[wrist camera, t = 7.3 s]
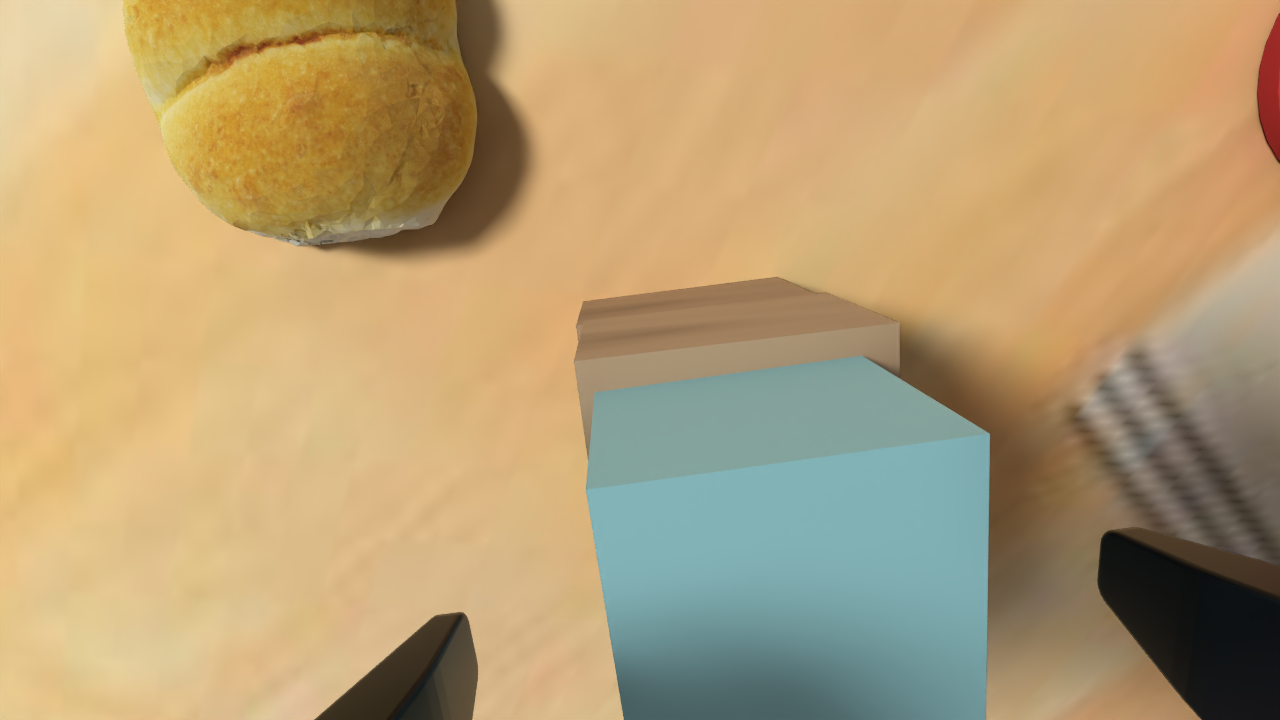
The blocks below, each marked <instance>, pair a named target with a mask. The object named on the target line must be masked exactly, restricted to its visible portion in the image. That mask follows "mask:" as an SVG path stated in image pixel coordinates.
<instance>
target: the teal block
mask: <svg viewBox="0 0 1280 720" xmlns="http://www.w3.org/2000/svg"><path fill="white" fill-rule="evenodd" d="M989 465H990V433H988V432H986V431H985V430H983V429H981V428H980V427H978V426H977V425H975V424H973V423H972V422H970V421H968V420H967V419H965V418H963V417H962V416H960V415H959V414H957V413H955V412H954V411H952V410H950V409H949V408H947V407H945V406H944V405H942V404H940V403H939V402H937V401H936V400H934V399H932V398H931V397H929V396H927V395H926V394H924V393H922V392H921V391H919V390H918V389H916V388H914V387H913V386H911V385H909V384H908V383H906V382H904V381H903V380H901V379H900V378H898V377H896V376H895V375H893V374H891V373H890V372H888V371H886V370H885V369H883V368H881V367H880V366H878V365H877V364H875V363H873V362H872V361H870V360H868V359H867V358H865V357H863V356H856V357H848V358H841V359H834V360H826V361H819V362H812V363H805V364H797V365H790V366H783V367H775V368H768V369H761V370H754V371H746V372H739V373H732V374H725V375H717V376H710V377H703V378H695V379H688V380H681V381H674V382H666V383H659V384H652V385H644V386H637V387H630V388H623V389H615V390H608V391H601V392H595V394H594V405H593V416H592V427H591V439H590V450H589V461H588V472H587V484H586V493H587V499H588V505H589V511H590V517H591V523H592V529H593V535H594V542H595V548H596V554H597V560H598V566H599V572H600V578H601V584H602V590H603V596H604V602H605V608H606V614H607V620H608V626H609V632H610V638H611V644H612V650H613V656H614V662H615V668H616V674H617V680H618V686H619V692H620V698H621V704H622V710H623V716H624V720H986V675H987V605H988V535H989Z"/></svg>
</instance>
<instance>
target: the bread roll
mask: <svg viewBox="0 0 1280 720" xmlns="http://www.w3.org/2000/svg"><path fill="white" fill-rule="evenodd" d="M123 13H124V24H125V33H126V38H127V44H128V46H129V49H130V52H131V54H132V58H133V64H134V67H135V69H136V71H137V73H138V76H139V78H140V80H141V83H142V85H143V88H144V90H145V92H146V95H147V97H148V99H149V101H150V104H151V106H152V108H153V110H154V113H155V115H156V118H157V120H158V123H159V126H160V129H161V132H162V135H163V141H164V144H165V147H166V150H167V153H168V155H169V158H170V161H171V163H172V165H173V167H174V169H175V171H176V172H177V173H178V174H179V176H180V177H181V178H182V179H183V181H184V182H185V183H186V184H187V186H188V187H189V188H190V189H191V191H192V192H193V193H194V194H195V196H196V197H197V198H198V199H199V201H200V202H201V203H202V204H204V205H205V206H206V207H207V208H208V209H209V210H210V211H211V212H212V213H213V214H214V215H216V216H218V217H219V218H221V219H222V220H224V221H225V222H227V223H228V224H230V225H233V226H235V227H238V228H240V229H243V230H245V231H249V232H252V233H255V234H258V235H260V236H264V237H270V238H275V239H277V240H280V241H283V242H288V243H292V244H294V245H296V246H307V245H318V244H319V245H320V244H329V243H340V242H349V241H353V242H354V241H358V240H363V239H369V238H372V237H373V238H383V237H384V236H390V235H393V234H397V233H398V232H400V231H401V230H407V229H421V228H423V227H426V226H428V225H433V224H434V223H435V222H436V220H437V219H438V217H439V215H440V213H441V211H442V209H443V208H444V206H445V204H446V203H447V201H448V200H449V198H450V197H451V196H452V195H453V193H454V192H455V191H456V190H457V188H458V187H459V186H460V184H461V183H462V181H463V180H464V178H465V176H466V174H467V172H468V169H469V167H470V165H471V161H472V158H473V152H474V144H475V136H476V127H477V108H476V99H475V95H474V92H473V88H472V85H471V82H470V79H469V76H468V73H467V71H466V69H465V67H464V64H463V62H462V58H461V53H460V48H459V43H458V39H457V10H456V1H455V0H124V5H123ZM398 234H399V233H398ZM288 240H289V241H288Z"/></svg>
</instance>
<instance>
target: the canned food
mask: <svg viewBox="0 0 1280 720" xmlns="http://www.w3.org/2000/svg"><path fill="white" fill-rule="evenodd" d="M1258 102H1259V112H1260V120H1261V123H1262V126H1263V129H1264V132H1265V135H1266V138H1267V141H1268V143H1269V145H1270V146H1271V148H1272V150H1273V151H1274V153H1275V155H1276V156H1277V158H1278V160H1279V161H1280V14H1279V15H1278V17H1277V19H1276V22H1275V24H1274V26H1273V29H1272V31H1271V33H1270V35H1269V38H1268V40H1267V42H1266V46H1265V50H1264V54H1263V58H1262V62H1261V66H1260V72H1259V84H1258Z"/></svg>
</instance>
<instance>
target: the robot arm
mask: <svg viewBox="0 0 1280 720" xmlns="http://www.w3.org/2000/svg"><path fill="white" fill-rule="evenodd" d="M1098 588H1099V591H1100V594H1101V596H1102V598H1103V599H1104V601H1105V602H1106V604H1107V605H1108V606H1109V607H1110V609H1111V610H1112V611H1113V612H1114V614H1115V615H1116V616H1117V617H1118V619H1119V620H1120V621H1121V622H1122V624H1123V625H1124V626H1125V628H1126V629H1127V630H1128V631H1129V633H1130V634H1131V635H1132V636H1133V638H1134V639H1135V640H1136V641H1137V643H1138V644H1139V645H1140V646H1141V648H1142V649H1143V650H1144V651H1145V653H1146V654H1147V655H1148V656H1149V658H1150V659H1151V660H1152V661H1153V663H1154V664H1155V665H1156V667H1157V668H1158V669H1159V670H1160V672H1161V673H1162V674H1163V675H1164V677H1165V678H1166V679H1167V680H1168V682H1169V683H1170V684H1171V685H1172V687H1173V688H1174V689H1175V690H1176V691H1177V693H1178V694H1179V695H1180V696H1181V697H1182V699H1183V700H1184V701H1185V702H1186V703H1187V704H1188V705H1189V707H1190V708H1191V709H1192V710H1193V711H1194V712H1195V713H1196V714H1197V715H1198V717H1199V718H1200V719H1201V720H1280V566H1279V565H1276V564H1272V563H1268V562H1264V561H1261V560H1257V559H1253V558H1250V557H1246V556H1242V555H1239V554H1235V553H1231V552H1228V551H1224V550H1220V549H1216V548H1213V547H1209V546H1205V545H1202V544H1198V543H1194V542H1191V541H1187V540H1183V539H1180V538H1176V537H1172V536H1168V535H1165V534H1161V533H1157V532H1154V531H1150V530H1146V529H1143V528H1136V527H1131V528H1124V529H1116V530H1110V531H1107V532H1106V533H1105V534H1104V535H1103V537H1102V538H1101V545H1100V556H1099V568H1098ZM477 681H478V664H477V658H476V653H475V648H474V644H473V639H472V634H471V629H470V625H469V621H468V618H467V616H466V615H465V614H464V613H462V612H457V613H449V614H441V615H436V616H434V617H433V618H431V619H430V620H429V621H428V622H427V623H426V624H424V625H423V626H422V627H421V628H420V629H419V630H417V631H416V632H415V633H414V634H413V635H412V636H410V637H409V638H408V639H407V640H406V641H405V642H404V643H402V644H401V645H400V646H399V647H398V648H397V649H395V650H394V651H393V652H392V653H391V654H390V655H389V656H387V657H386V658H385V659H384V660H383V661H382V662H380V663H379V664H378V665H377V666H376V667H375V668H374V669H372V670H371V671H370V672H369V673H368V674H367V675H365V676H364V677H363V678H362V679H361V680H360V681H358V682H357V683H356V684H355V685H354V686H353V687H352V688H350V689H349V690H348V691H347V692H346V693H345V694H343V695H342V696H341V697H340V698H339V699H338V700H337V701H335V702H334V703H333V704H332V705H331V706H330V707H328V708H327V709H326V710H325V711H324V712H323V713H321V714H320V715H319V716H318V717H317V718H316V719H315V720H472V717H473V710H474V703H475V696H476V689H477Z"/></svg>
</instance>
